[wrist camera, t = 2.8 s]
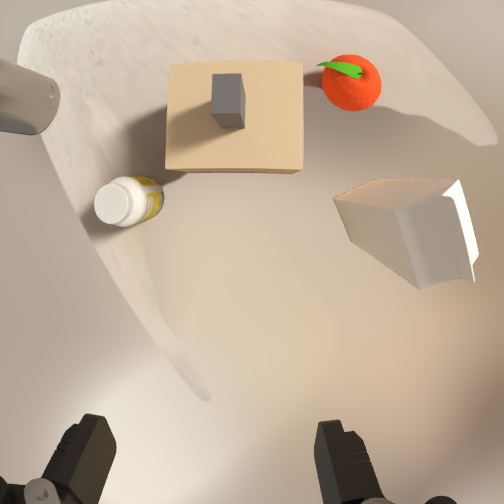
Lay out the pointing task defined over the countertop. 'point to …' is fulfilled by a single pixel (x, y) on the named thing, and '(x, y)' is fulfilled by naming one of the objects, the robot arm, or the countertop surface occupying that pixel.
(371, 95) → the clementine
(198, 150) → the lid
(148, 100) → the countertop surface
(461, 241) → the milk
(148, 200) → the supplement bottle
